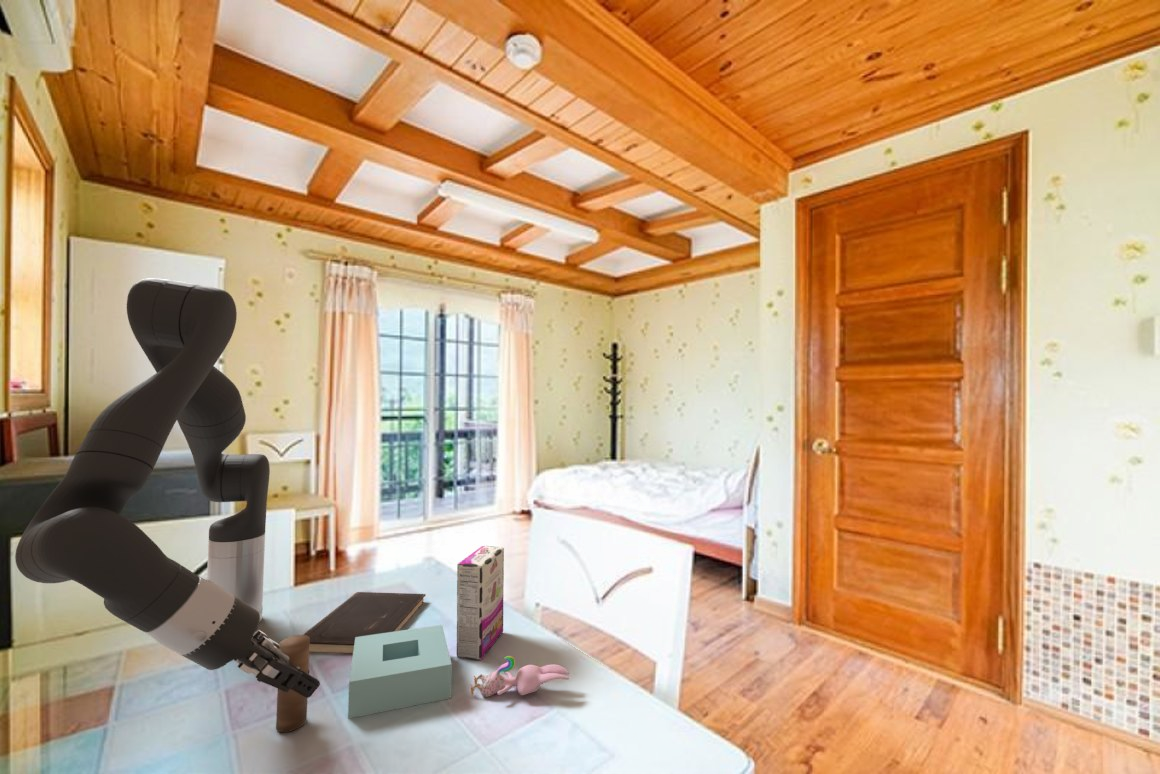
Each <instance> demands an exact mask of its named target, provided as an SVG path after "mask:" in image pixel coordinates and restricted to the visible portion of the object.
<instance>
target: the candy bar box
mask: <svg viewBox="0 0 1160 774" xmlns="http://www.w3.org/2000/svg"><path fill="white" fill-rule="evenodd" d="M504 552H505V547H502V546H489V545H481V546H480V547H479V548H477V549H476V550H474V551H473V552H472V553H470V554H469V555H468V556H467V557H465V558H463V560H461V561H460V562H458V563H457V571H456V572H457V573H456V574H457V580H456V583H457V586H456V589H457V590H456V591H457V592H456V605H457V606H456V611H457V612H456V657H457V658H459V659H467V660H477V661H482V660H483V658H484V657H485V656H486V655H487V653H488V652H489V650H490V649H491V648H492V646H493V645H494V644H495V642H496V641H497V640H498V639H499V637H500V636H501V635H502V634H503V632H504V576H505V574H504V572H505V571H504V570H505V569H504V564H505V560H504V556H505V555H504V554H505V553H504ZM501 633H502V634H501ZM500 634H501V635H500Z"/></svg>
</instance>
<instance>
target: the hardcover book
mask: <svg viewBox="0 0 1160 774" xmlns="http://www.w3.org/2000/svg"><path fill="white" fill-rule="evenodd" d="M426 594H427V593H426ZM426 594H425V593H407V592H404V593H402V592H401V593H400V592H371V591H370V592H368V591H367V592H366V591H365V592H364V591H357V592H355V593H354V594H353V595H351V596H350V597H349V598H347V599H346V600H345V601H343V602H342V603H341V604H340V605H339V606H337V607H335V609H334V610H332V611H331V612H330V613H329V614H327V615H325V617H324V618H322V619H321V620H320V621H318V622H317V623H316V624H314V625H313V626H312V627H310V628H309V629H308V630H307V631H305V632H304V633H303V634H302V635H307V636H309V637H310V645H309V652H310V653H311V652H313V653H314V652H315V653H317V652H318V653H319V652H320V653H344V654H345V653H347V654H348V653H349V654H351V653H352V654H353V651H354V643H355V637H360V636H367V635H374V634H381V633H388V632H395V631H401V629H402V627H404V625H406V623H407V622H408V621H409V620H410V618H411V617H412V616H413V615H414V614H415V612H416V611H417V610H418V609H419V608H420V607H419V606H422V604H423V603H424V600H425V599H424V598H425V597H426ZM422 602H423V603H422ZM418 607H419V608H418Z"/></svg>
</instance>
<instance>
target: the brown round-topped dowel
mask: <svg viewBox="0 0 1160 774" xmlns="http://www.w3.org/2000/svg"><path fill="white" fill-rule="evenodd" d="M278 644H279V649H280V650H282V651H283V652H285V653H286V654H288V656H289V661H290V662H291V663H293V664H294V665H296V666H299V667H300V669H301V670H303V671H304V672H306V673H308V670H309V671H310V669H309V667H310V666H309V664H310V663H309V662H310V651H309V645H310V637H309V636H307V635H303V634H297V635H291V636H288V637H286V638H284V639H282V640H280V642H279V643H278ZM279 660H280V656H279ZM276 691H277V698H276V720H275V721H276V722H275V729H276V730H277V731H278V732H281V733H283V732H284V733H286V732H287V733H288V732H292V731H295V730H297V729H299V728H301V727H302V726H304V725H305V723H306V722H307V719H308V717H307V716H308V698H306V697H304V696H302V695H301V694H299V693H297V692H295V691H294V690H292V689H290V690H289V691H288V692H283V691H282V690H280V689H278V688H277V690H276Z"/></svg>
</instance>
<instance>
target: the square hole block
mask: <svg viewBox="0 0 1160 774" xmlns="http://www.w3.org/2000/svg"><path fill="white" fill-rule="evenodd" d="M452 667H453V665H452V660H451V655H450V651H449V649H448V644H447V639H446V634H445V630H444V627H443V624H438V625H430V626H424V627H418V628H410V629H403V630H399V631H395V632H388V633H381V634H374V635H367V636H360V637H355V643H354V651H353V653H352V660H351V665H350V673H349V679H348V701H347V702H348V706H347V707H348V708H347V719H352V718H357V717H362V716H368V715H373V714H377V713H382V712H387V711H392V710H397V709H402V708H408V707H414V706H418V705H422V704H427V703H429V704H430V703H434V702H439V701H444V700H448V699H451V698H452Z"/></svg>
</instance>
